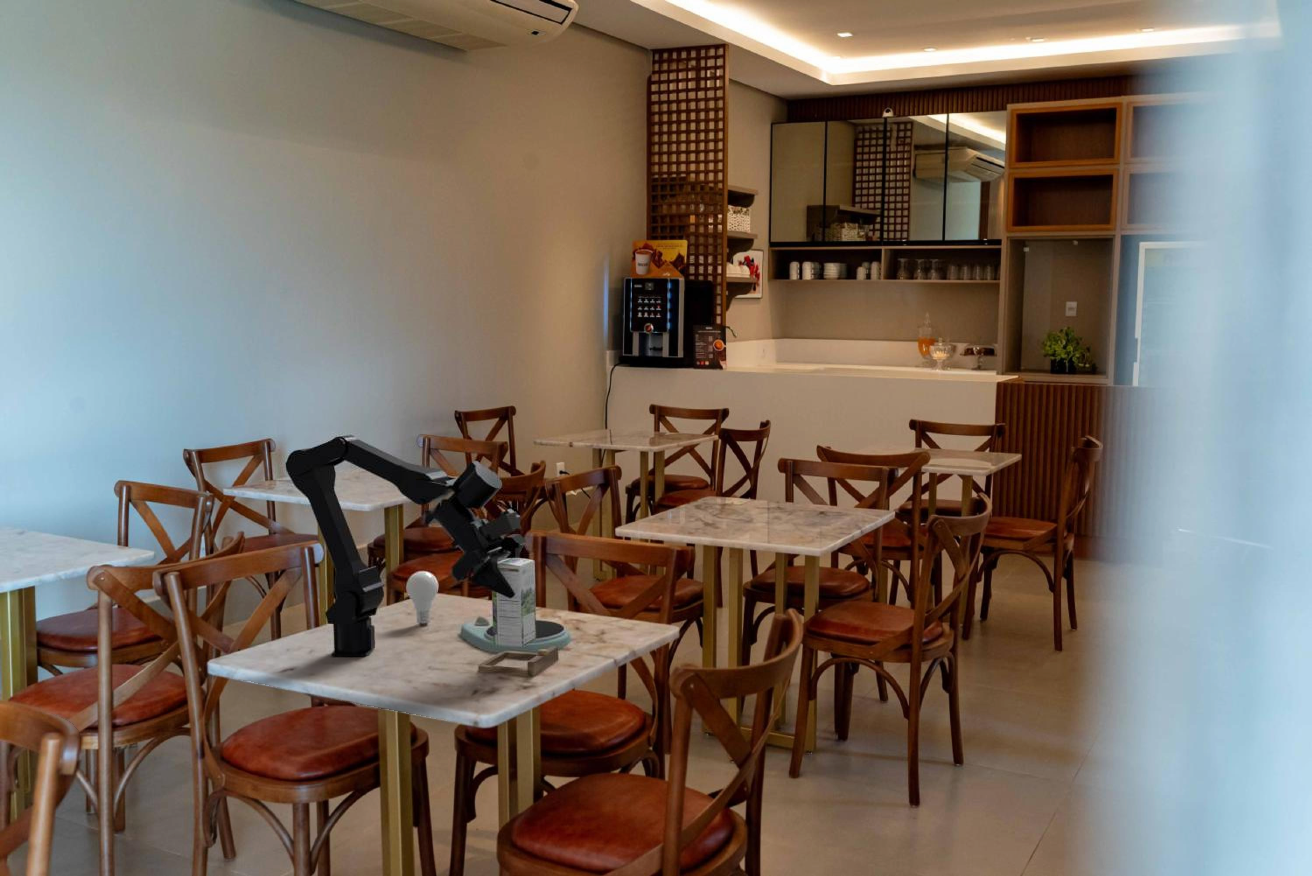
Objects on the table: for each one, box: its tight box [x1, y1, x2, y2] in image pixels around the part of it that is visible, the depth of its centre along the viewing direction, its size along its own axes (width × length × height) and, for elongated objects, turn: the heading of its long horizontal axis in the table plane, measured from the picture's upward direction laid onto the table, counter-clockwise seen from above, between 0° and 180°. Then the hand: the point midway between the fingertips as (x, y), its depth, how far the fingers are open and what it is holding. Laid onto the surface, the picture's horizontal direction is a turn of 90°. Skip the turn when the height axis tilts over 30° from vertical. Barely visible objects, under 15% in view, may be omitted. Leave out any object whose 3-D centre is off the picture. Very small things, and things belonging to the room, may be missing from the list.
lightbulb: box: [406, 570, 439, 626], centre depth 230 cm, size 6×6×11 cm
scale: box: [460, 615, 572, 654], centre depth 218 cm, size 18×4×25 cm
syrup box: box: [491, 557, 537, 647], centre depth 198 cm, size 6×6×14 cm
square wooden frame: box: [477, 646, 559, 677], centre depth 199 cm, size 11×11×3 cm
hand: (520, 593), depth 197 cm, fingers closed on syrup box, 6 cm apart
